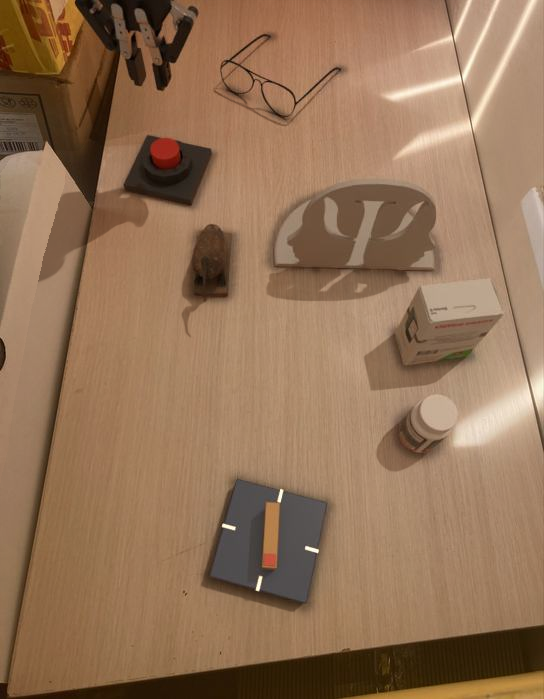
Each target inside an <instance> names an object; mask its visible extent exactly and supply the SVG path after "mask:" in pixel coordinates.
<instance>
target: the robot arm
mask: <svg viewBox="0 0 544 699" xmlns="http://www.w3.org/2000/svg"><path fill="white" fill-rule="evenodd" d="M74 5H75V8H77V10H78V12H80V14H81V15H82V17H83V18H84V20H85V21H86V23H88V25H89V26H90V28H91V29H92V31H93V32H94V33H95V35H96V36H97V37H98V39H99V40H100V41H101V43H102V44H103V46H104V47H105V48H106V50H108V51H110V52H114V51H117V52H119V53H120V55H121V56H122V57H123V59H124V61H125V66H126V69H127V73H128V77H129V78H130V80H131V81H133V83H134V86H137V87H142V86H143V85H144V82H145V81H146V78H147V71H146V65H145V61H144V55H143V51H142V48H141V47H138V46H139V37H138V36H139V35H138V32H139V33H141V35H142V38H143V42H144V45H145V47H147V48H148V51H149V53H150V57H151V61H152V63H151V66H152V72H153V78H154V82H155V83H154V84H155V87H156V88H155V89H156V90H157V91H161V92H164V91H165V90H166V88H168V86H169V84H170V81H171V80H172V77H173V76H172V75H173V74H172V69H171V64H176V63H177V61H178V59H179V58H180V55H181V53H182V51H183V49H184V47H185V45H186V42H187V40H188V38H189V36H190V34H191V31H192V30H193V27H194V26H195V23H196V21H197V19H198V17H199V13H200V12H199V9H198V8H197V7H195V6H194V5H189V6H188V7H187V8H186V7H185V6H184V5H182V4H181V3H179V2H178V1H177V0H74ZM169 14H170V15H171V17H172V25H173V29H174V30H175V31H176V32H175V35H174V37H173V39H172V42H168V37H167V33H166V32H167V25H166V21H165V20H166V19H167V17H168V15H169Z"/></svg>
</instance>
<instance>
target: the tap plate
mask: <svg viewBox="0 0 544 699" xmlns="http://www.w3.org/2000/svg"><path fill="white" fill-rule="evenodd" d="M233 486H234V487H233V490H232V493H231V497H230V501H229V503H228V507H227V511H226V516H225V518H224V521H223V523H222V525H221V528H222V529H221V533H220V536H219V539H218V544H217V546H216V550H215V554H214V557H213V561H212V565H211V568H210V572H209V577H210V578H213V579H215V580H220V581H223V582H227V583H230V584H233V585H237V586H241V587H245V588H248V589H251V590H255V591H256V592H261V593H262V592H263V593H266V594H269V595H273V596H275V597H276V596H277V597H279V598H284V599H287V600H291V601H294V602H298V603H301V604H307V603H308V599H309V594H310V590H311V585H312V580H313V575H314V569H315V566H316V561H317V554H319V552H320V549H319V545H320V541H321V536H322V530H323V526H324V521H325V517H326V513H327V512H326V511H327V507H328V506H327V505H328V502H326V501H324V500H323V501H322V500H319V499H315V498H311V497H307V496H303V495H300V494H296V493H293V492H288V491H285V490H284V489H283V488H280V489H277V488H273V487H270V486H266V485H261V484H258V483H254V482H251V481H247V480H243V479H239V478H236V480H235V483H234V485H233ZM266 502H275V503H280V513H279V534H278V554H277V568H276V569H275V570H264V569H262V551H263V535H264V518H265V505H266Z"/></svg>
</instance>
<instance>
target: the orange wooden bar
mask: <svg viewBox="0 0 544 699" xmlns="http://www.w3.org/2000/svg"><path fill="white" fill-rule="evenodd" d="M279 513H280V503H275V502H266V505H265V518H264V535H263V551H262V569H264V570H275V569H276V568H277V554H278V534H279Z"/></svg>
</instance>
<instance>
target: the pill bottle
mask: <svg viewBox="0 0 544 699" xmlns="http://www.w3.org/2000/svg"><path fill="white" fill-rule="evenodd" d="M458 419H459V412H458V408H457V406H456V404H455V402H454V401H453V400H452V399H450V398H449V397H448V396H446V395H443V394H437V393H436V394H435V393H434V394H430V395H428V396H426V397H425V398H423V399H420V400H418V401H417V402H416V403H415V404H414V405H413V406H412V407H411V409H410V410H409V411H408V412H407V414H406V415H405V416H404V417H403V418H402V420H401V422H400V424H399V427H398V437H399V439H400V442H401V443H402V444H403V446H404V447H405V448H407V449H408V450H409V451H412V452H413V453H419V454H421V453H422V454H423V453H427V452H430V451H431V450H433V449H434V448H435V447H437V446H438V445H439V444H440V443H441V442H443V441H444V440H445V439H446V438H448V436H450V434H451V433H452V431H453V430H454V427H455V425H456V424H457V422H458Z"/></svg>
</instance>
